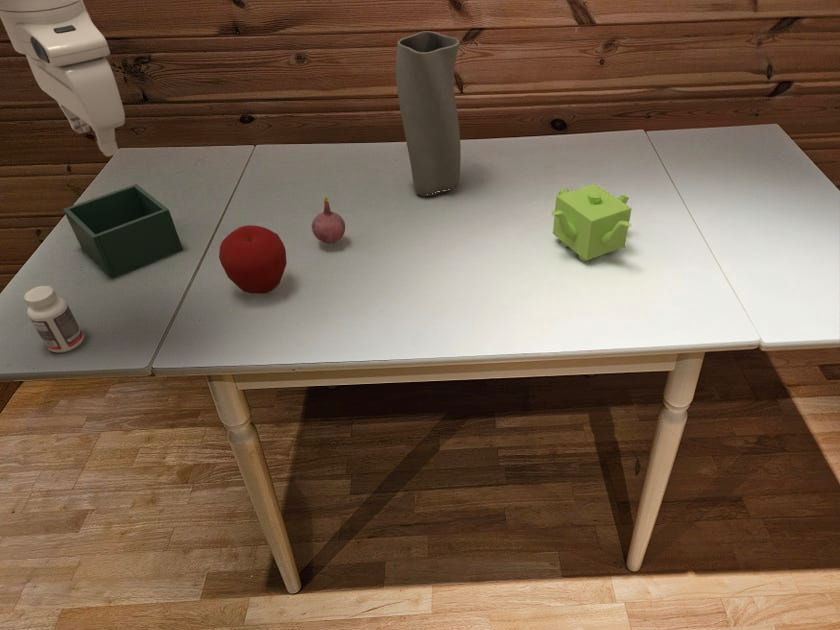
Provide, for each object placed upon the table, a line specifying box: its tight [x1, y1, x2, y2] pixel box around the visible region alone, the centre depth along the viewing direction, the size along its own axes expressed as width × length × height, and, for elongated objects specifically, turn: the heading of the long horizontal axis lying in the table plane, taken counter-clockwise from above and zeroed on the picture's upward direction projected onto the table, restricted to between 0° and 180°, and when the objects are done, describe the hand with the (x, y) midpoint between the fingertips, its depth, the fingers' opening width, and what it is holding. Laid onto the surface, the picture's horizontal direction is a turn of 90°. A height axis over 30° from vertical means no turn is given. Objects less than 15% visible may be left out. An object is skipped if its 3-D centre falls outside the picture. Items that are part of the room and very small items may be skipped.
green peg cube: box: [550, 183, 632, 262], centre depth 122 cm, size 15×14×11 cm
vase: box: [395, 30, 462, 197], centre depth 132 cm, size 12×12×30 cm
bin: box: [62, 183, 184, 280], centre depth 121 cm, size 14×14×9 cm
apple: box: [218, 224, 287, 295], centre depth 111 cm, size 11×11×12 cm
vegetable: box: [311, 195, 346, 245], centre depth 122 cm, size 6×6×10 cm
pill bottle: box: [23, 285, 85, 354], centre depth 101 cm, size 5×5×10 cm
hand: (96, 142), depth 86 cm, fingers open, 8 cm apart
